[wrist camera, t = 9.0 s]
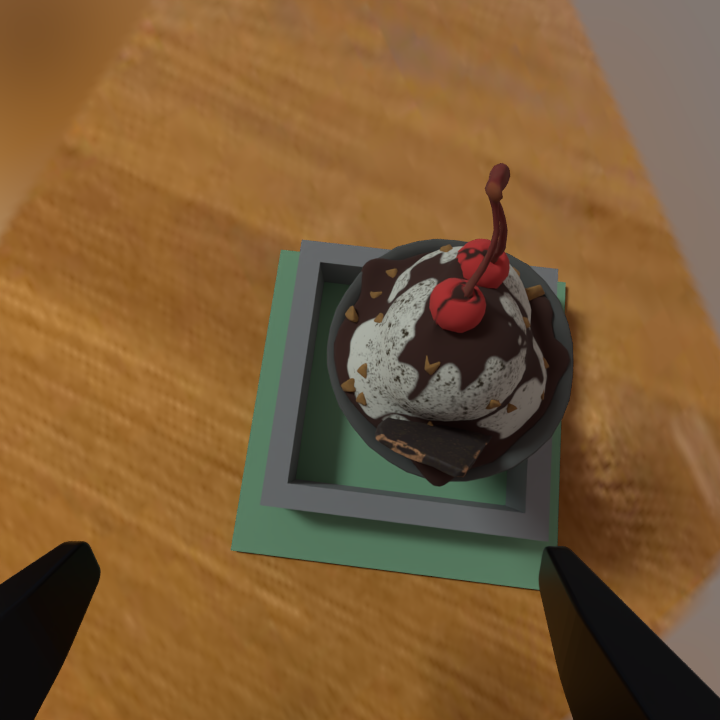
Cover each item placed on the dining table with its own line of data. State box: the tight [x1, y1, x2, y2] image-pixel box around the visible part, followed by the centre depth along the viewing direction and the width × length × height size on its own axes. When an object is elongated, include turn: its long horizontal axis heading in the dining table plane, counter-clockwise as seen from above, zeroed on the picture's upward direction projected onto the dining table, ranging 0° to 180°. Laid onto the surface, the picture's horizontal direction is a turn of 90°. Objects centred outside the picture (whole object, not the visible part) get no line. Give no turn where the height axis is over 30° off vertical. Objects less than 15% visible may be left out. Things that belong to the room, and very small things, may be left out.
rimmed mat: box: [231, 240, 565, 590], centre depth 20 cm, size 15×15×3 cm
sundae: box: [327, 163, 573, 487], centre depth 14 cm, size 7×7×15 cm
